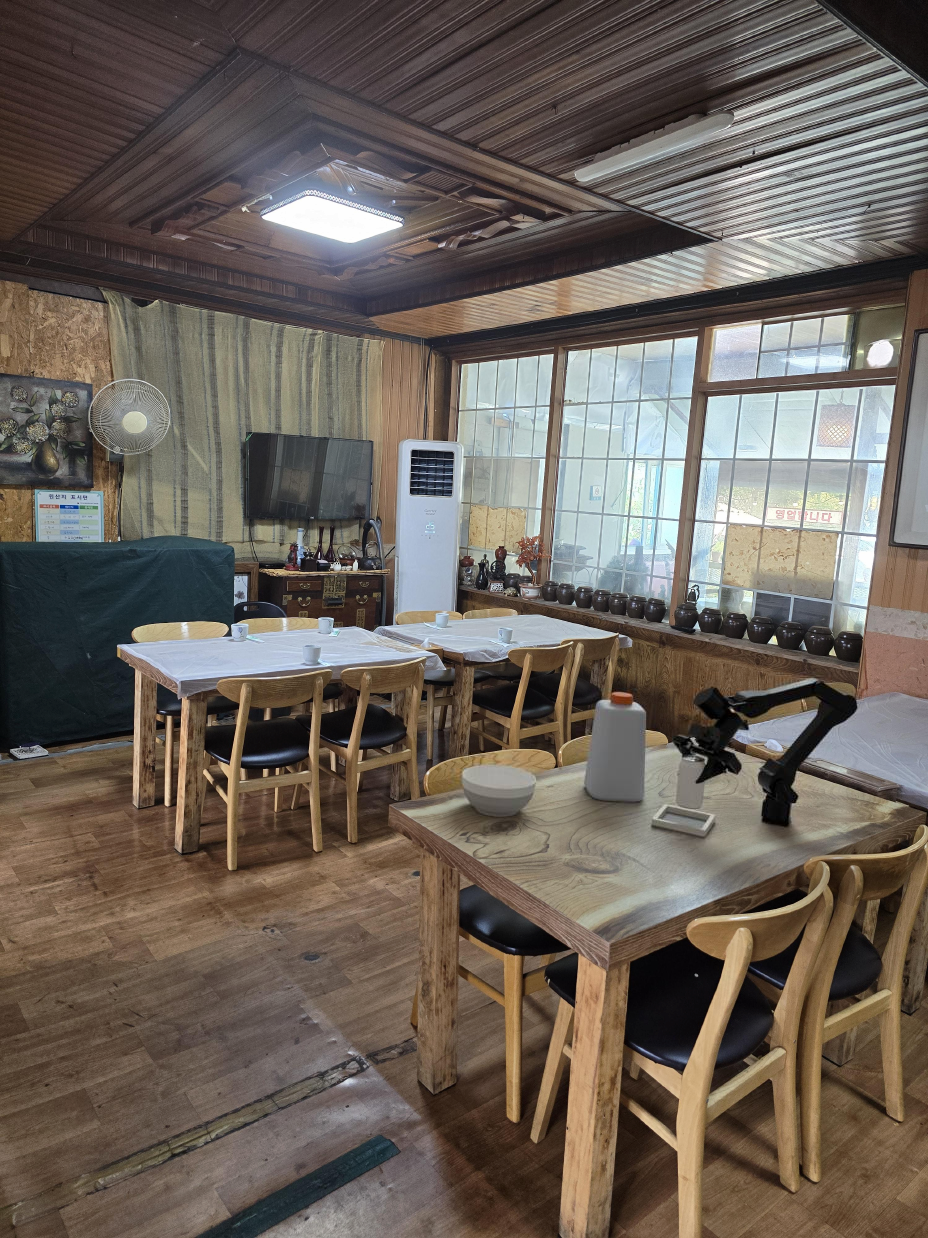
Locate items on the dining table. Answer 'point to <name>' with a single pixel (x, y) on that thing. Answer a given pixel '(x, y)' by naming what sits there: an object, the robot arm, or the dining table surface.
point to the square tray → (683, 821)
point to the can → (690, 782)
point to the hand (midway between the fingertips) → (687, 779)
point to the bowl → (498, 789)
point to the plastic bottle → (617, 750)
